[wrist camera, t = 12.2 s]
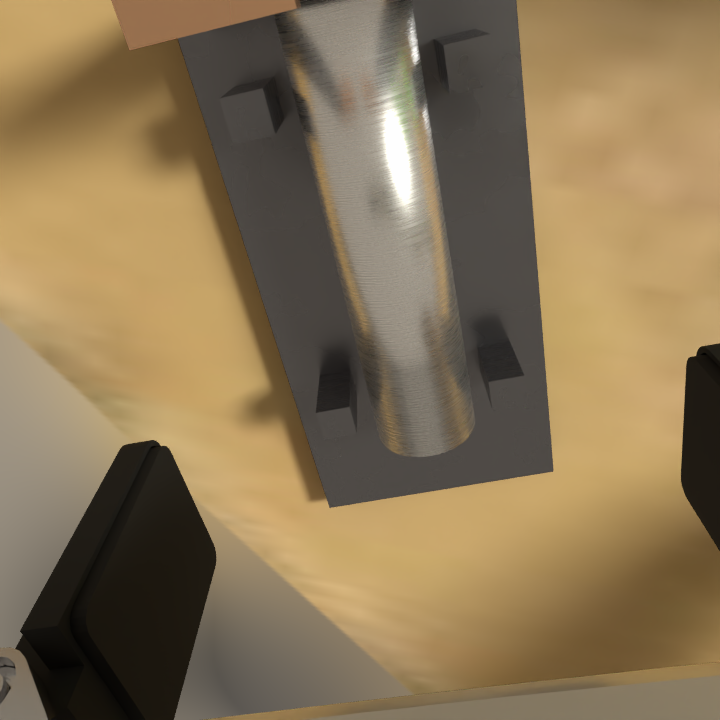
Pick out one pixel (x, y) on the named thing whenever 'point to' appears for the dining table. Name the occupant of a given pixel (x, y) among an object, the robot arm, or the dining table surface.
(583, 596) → the dining table surface
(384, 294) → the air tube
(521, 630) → the dining table surface
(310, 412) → the saddle stand
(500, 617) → the dining table surface
